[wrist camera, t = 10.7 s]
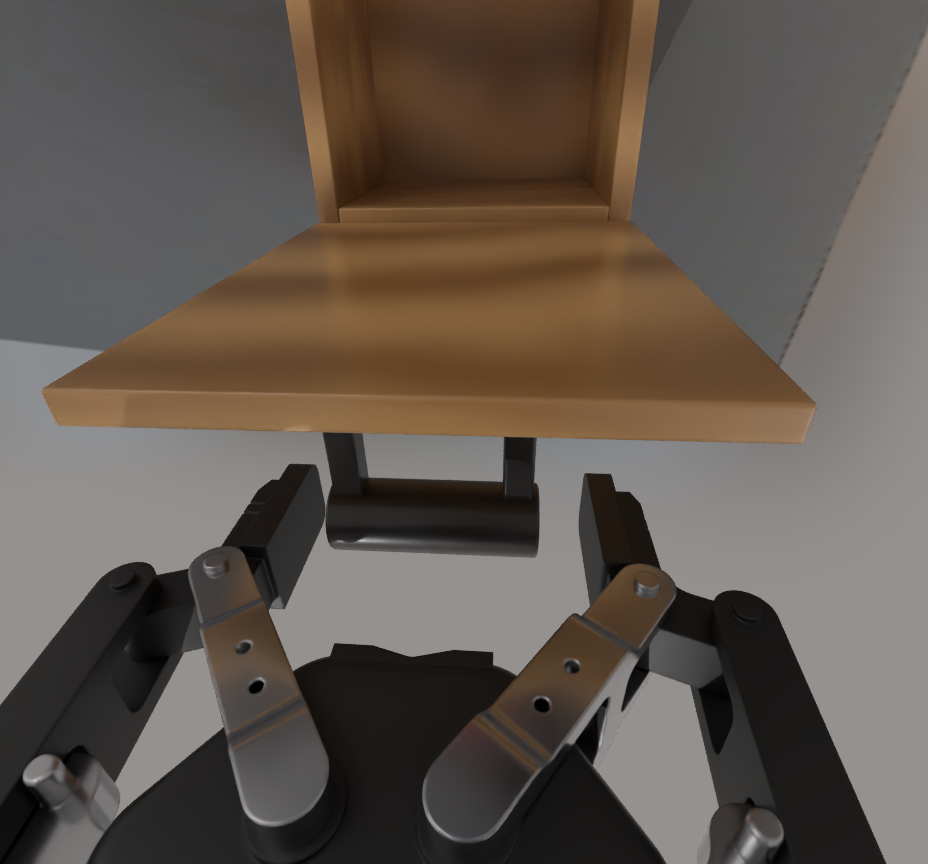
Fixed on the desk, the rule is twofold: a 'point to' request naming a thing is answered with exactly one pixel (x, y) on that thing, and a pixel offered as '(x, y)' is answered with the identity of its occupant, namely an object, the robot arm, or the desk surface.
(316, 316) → the lid
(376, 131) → the chest
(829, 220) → the desk surface
